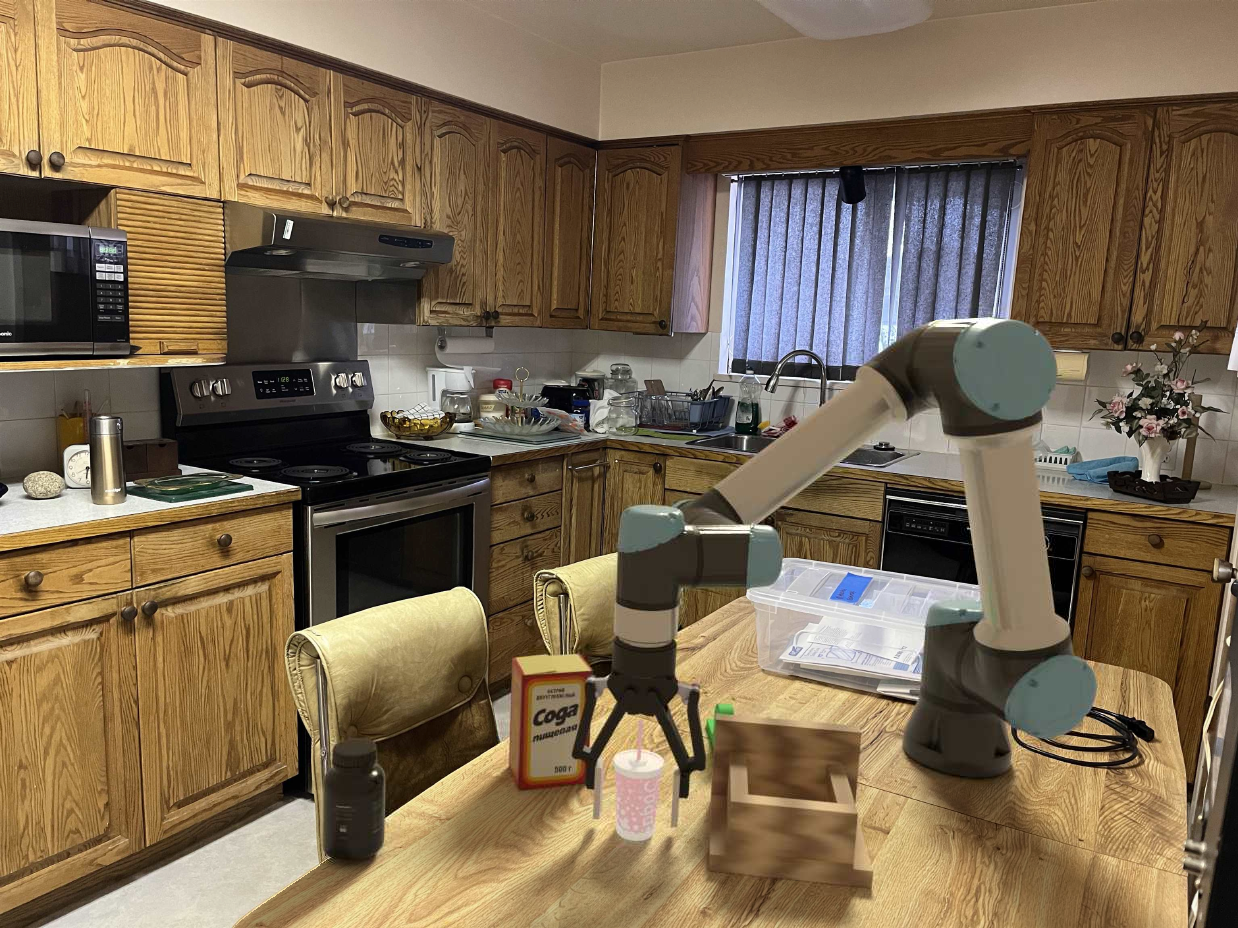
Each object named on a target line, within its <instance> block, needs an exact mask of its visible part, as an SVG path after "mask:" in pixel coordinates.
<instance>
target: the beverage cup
mask: <svg viewBox="0 0 1238 928" xmlns="http://www.w3.org/2000/svg"><path fill="white" fill-rule="evenodd" d="M643 724H644V720H643V719H639V720H638V731H637V733H638V734H637V749H626V750H624V751H623V750H622V751H619V752H618V753H617V754H615V755H614V757H613V760H612V762H613V769H614V772H615V773H614V775H615V776H614V777H615V779H614V780H615V782H614V783H615V831H616V833H617V835H619V836H620V837H621V838H623V839H625V840H627V841H634V842H636V841H637V842H638V841H639V842H640V841H645V840H648V839H650V838H652V837H653V836H654V834H655V833H654V832H655V826H656V818H657V810H658V801H659V792H660V785H661V776H662V775H661V774H662V773H663V771H664V765H665V760H664V759H663V757H662V756H661V755H659V754H657V752H652V751H650V750H646V749H642V744H643V743H642V741H643V727H644V726H643Z"/></svg>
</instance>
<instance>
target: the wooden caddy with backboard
mask: <svg viewBox="0 0 1238 928" xmlns="http://www.w3.org/2000/svg"><path fill="white" fill-rule="evenodd" d="M861 741H862V730H861V727H860V725H851V724H842V723H841V724H840V723H831V722H830V723H828V722H817V721H808V720H807V721H806V720H795V719H785V718H771V717H761V716H760V717H758V716H751V715H750V716H748V715H737V714H734V715H728V714H717V713H716V722H715V737H714V749H713V755H712V767H711V768H712V771H711V773H712V774H711V785H710V786H711V787H710V799H709V800H710V802H709V804H710V805H709V807H710V810H709V840H708V841H709V845H708V871H709V872H717V873H727V874H735V875H745V876H756V877H764V878H772V879H773V878H774V879H783V880H790V881H791V880H793V881H801V882H812V883H818V884H819V883H822V884H831V885H839V886H840V885H841V886H850V887H858V888H867V889H872V887H873V877H874V869H873V866H872V862H871V859H870V855H869V852H868V850H867V845H866V842H865V837H864V833H863V831H862V828H861V824H860V821H859V816H858V815H859V812H858V809H857V807H856V801H857V790H858V777H859V767H860V754H861V743H862V742H861Z"/></svg>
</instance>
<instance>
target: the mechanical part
mask: <svg viewBox="0 0 1238 928" xmlns="http://www.w3.org/2000/svg"><path fill="white" fill-rule="evenodd" d="M734 712H735V711H734V707H733V704H732V703H722V702H721V703H716V704H715V708H714V714H713V718H710V717H709V718H706V729H707V732H708V736H709V739H710V742H711V744H712V745H711V746H712V749H713V750H714V737H715V722H716V713H717V714H728V715H735V713H734Z"/></svg>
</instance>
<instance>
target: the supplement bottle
mask: <svg viewBox="0 0 1238 928" xmlns="http://www.w3.org/2000/svg"><path fill="white" fill-rule="evenodd" d="M377 748H378V747H377V744H376V743H375V741H373V740H370V739H368V738H367V739H366V738H361V737H360V738H358V737H357V738H348V739H344V740H342V741H339V742H337V743H336V744H335V745H334V746H332V751H331V754H332V755H331V756H332V758H331V767H329V769H328V770H327V771H326V773H324V776H323V779H322V811H321V812H322V825H321V826H322V829H321V830H322V832H321V833H322V836H321V837H322V849H323V852H324V854H325V855H326V856H327V857H329V858H330V859H333V860H334V861H338V862H345V863H346V862H357V861H362V860H366V859H369V858H370V857H372V856H374V855H376V854H377V853H378V852H379V851H380V850H381V848H383V846H384V842H385V837H386V835H385V833H386V832H385V831H386V827H385V826H386V823H385V821H386V774H385V770H384V768H382V766H381V765H380V764H378V763H377V762H378V752H377Z"/></svg>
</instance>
